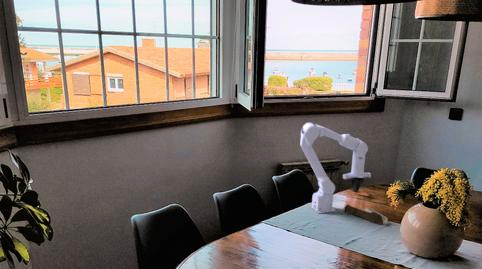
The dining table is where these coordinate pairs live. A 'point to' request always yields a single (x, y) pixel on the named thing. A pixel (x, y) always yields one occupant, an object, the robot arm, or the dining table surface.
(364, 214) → the hand tool
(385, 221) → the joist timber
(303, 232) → the dining table surface
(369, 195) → the dining table surface
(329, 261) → the dining table surface
